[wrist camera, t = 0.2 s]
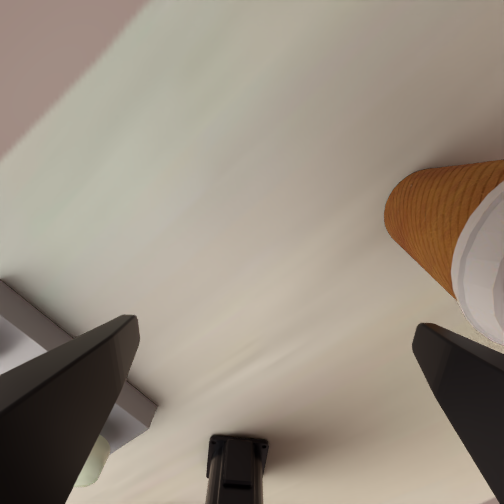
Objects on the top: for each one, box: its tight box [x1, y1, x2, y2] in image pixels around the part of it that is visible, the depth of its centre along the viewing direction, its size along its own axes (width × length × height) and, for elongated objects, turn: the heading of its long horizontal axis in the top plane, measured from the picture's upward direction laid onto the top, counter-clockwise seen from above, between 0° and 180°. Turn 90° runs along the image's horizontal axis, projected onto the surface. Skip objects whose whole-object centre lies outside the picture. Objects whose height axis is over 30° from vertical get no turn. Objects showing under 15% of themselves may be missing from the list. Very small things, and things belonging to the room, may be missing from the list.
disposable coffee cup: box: [384, 160, 504, 346], centre depth 16 cm, size 10×10×12 cm
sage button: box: [74, 435, 111, 487], centre depth 24 cm, size 4×4×2 cm
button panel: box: [0, 280, 157, 455], centre depth 26 cm, size 19×9×2 cm, turn 39°
